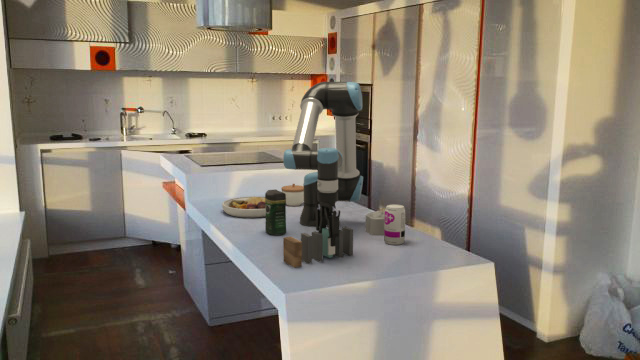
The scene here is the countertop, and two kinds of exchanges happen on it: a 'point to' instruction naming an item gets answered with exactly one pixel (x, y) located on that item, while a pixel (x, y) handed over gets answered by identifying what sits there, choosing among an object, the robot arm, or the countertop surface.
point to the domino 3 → (325, 242)
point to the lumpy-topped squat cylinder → (375, 223)
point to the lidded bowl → (293, 194)
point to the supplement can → (394, 224)
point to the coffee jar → (275, 212)
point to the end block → (292, 251)
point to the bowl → (245, 207)
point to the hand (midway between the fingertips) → (327, 252)
